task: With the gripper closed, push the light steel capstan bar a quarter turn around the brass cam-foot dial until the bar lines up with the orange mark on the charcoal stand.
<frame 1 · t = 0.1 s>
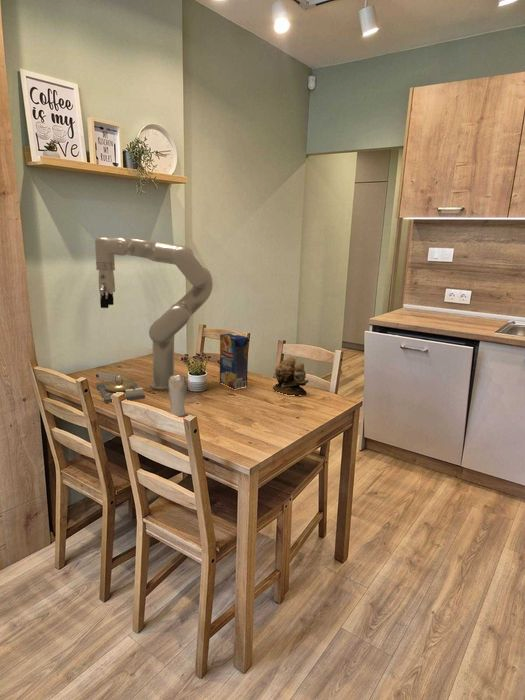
hand: (107, 306, 195), 37 cm above the table, tool pointing down, fingers open, 9 cm apart
cam foot: (113, 381, 195), point 5 cm above the table, hinge at 0.0°
level stand: (119, 391, 195), on the table
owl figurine: (290, 392, 204), on the table
beer glass: (177, 414, 173), on the table
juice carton: (233, 386, 209), on the table
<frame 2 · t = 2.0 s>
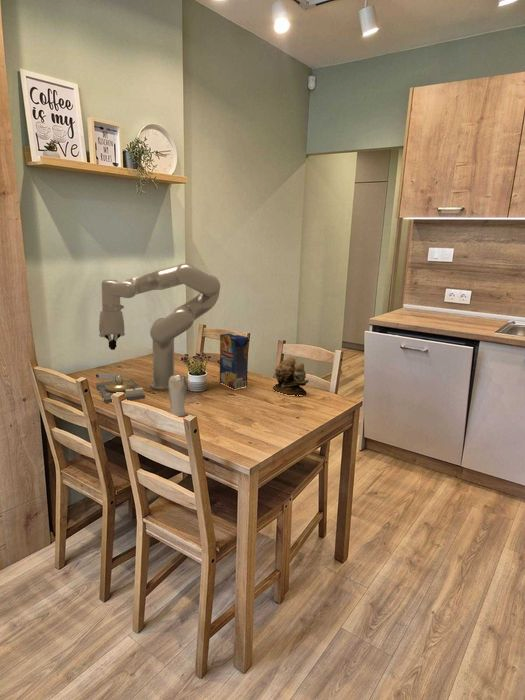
hand: (112, 349, 198), 18 cm above the table, tool pointing down, fingers closed
nothing on the table moved.
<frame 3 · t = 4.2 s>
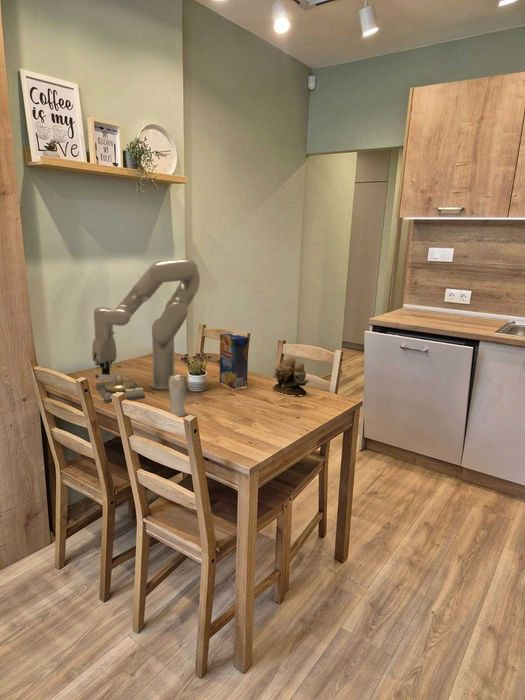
hand: (106, 376, 198), 6 cm above the table, tool pointing down, fingers closed
cam foot: (113, 381, 195), point 5 cm above the table, hinge at 2.8°, touching gripper
everything else where it was.
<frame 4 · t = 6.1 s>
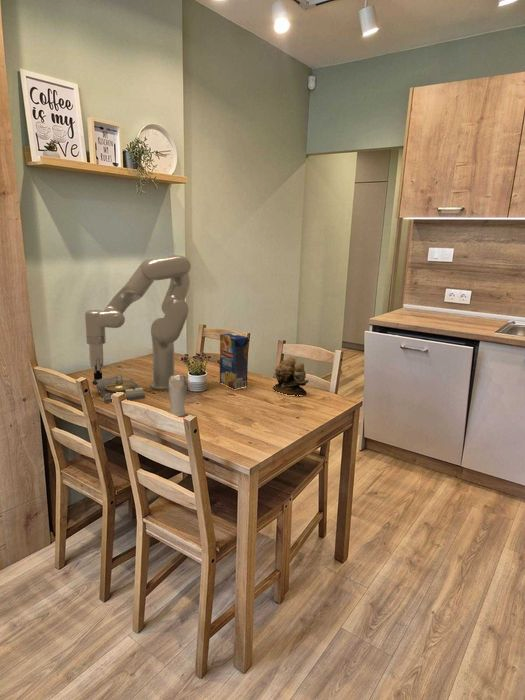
hand: (98, 381, 191), 6 cm above the table, tool pointing down, fingers closed
cam foot: (113, 383, 192), point 5 cm above the table, hinge at 57.0°, touching gripper
everything else where it was.
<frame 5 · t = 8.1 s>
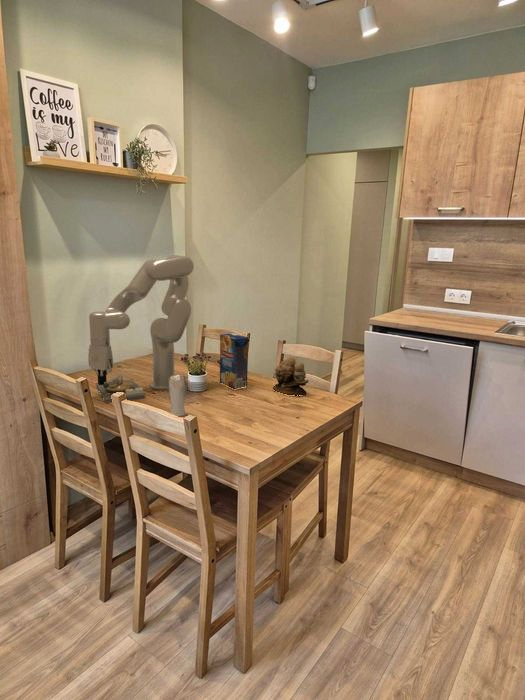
hand: (102, 384, 187), 6 cm above the table, tool pointing down, fingers closed
cam foot: (115, 383, 192), point 5 cm above the table, hinge at 94.3°
everything else where it was.
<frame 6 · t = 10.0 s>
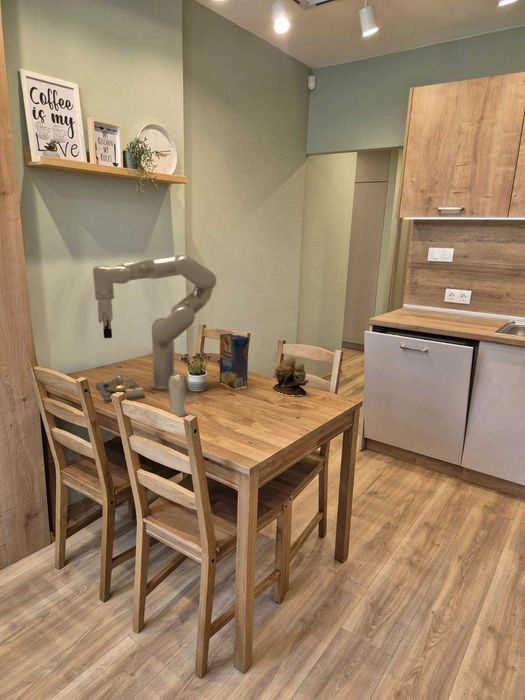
hand: (108, 337, 193), 24 cm above the table, tool pointing down, fingers closed
nothing on the table moved.
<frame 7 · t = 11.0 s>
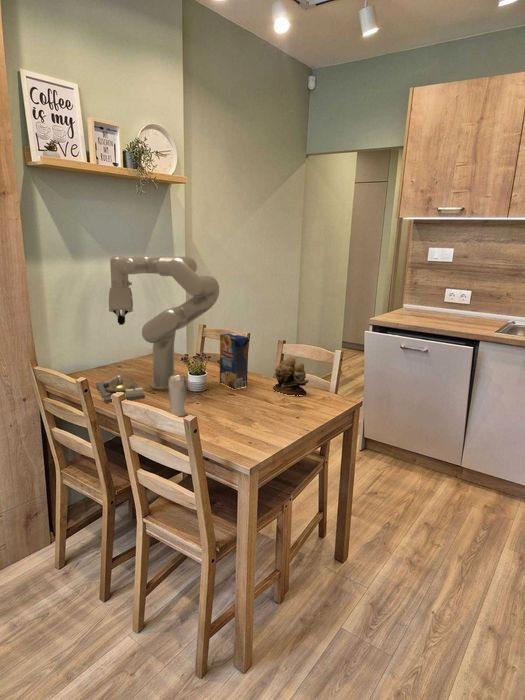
hand: (121, 324, 205), 27 cm above the table, tool pointing down, fingers closed
nothing on the table moved.
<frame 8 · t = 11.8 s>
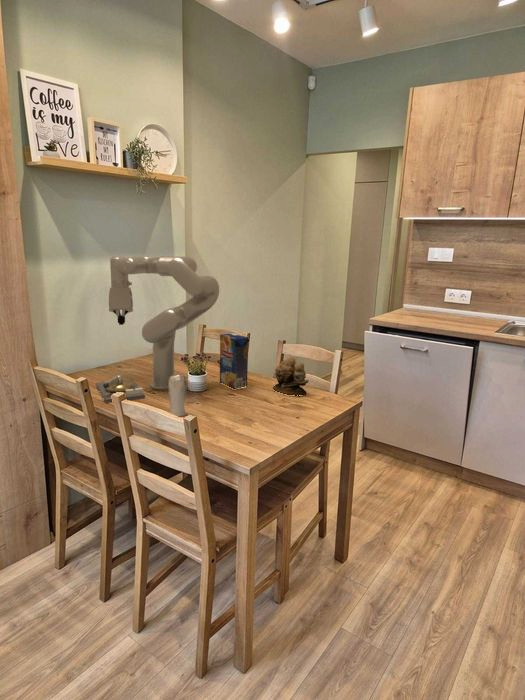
hand: (121, 324, 205), 27 cm above the table, tool pointing down, fingers closed
nothing on the table moved.
at the end: cam foot at +94° (first picture: +0°) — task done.
